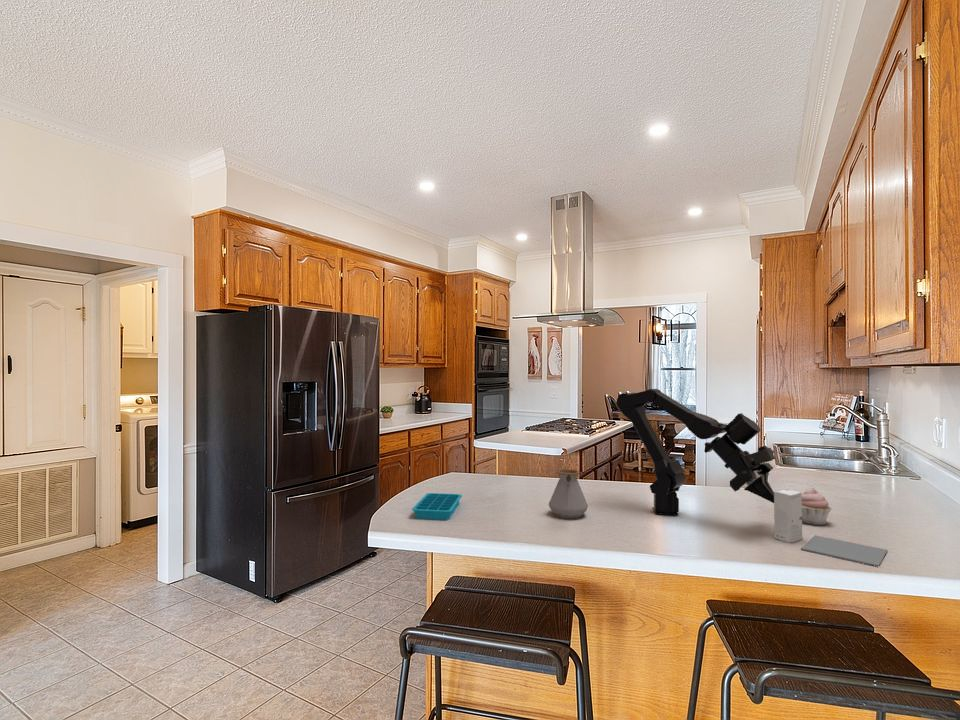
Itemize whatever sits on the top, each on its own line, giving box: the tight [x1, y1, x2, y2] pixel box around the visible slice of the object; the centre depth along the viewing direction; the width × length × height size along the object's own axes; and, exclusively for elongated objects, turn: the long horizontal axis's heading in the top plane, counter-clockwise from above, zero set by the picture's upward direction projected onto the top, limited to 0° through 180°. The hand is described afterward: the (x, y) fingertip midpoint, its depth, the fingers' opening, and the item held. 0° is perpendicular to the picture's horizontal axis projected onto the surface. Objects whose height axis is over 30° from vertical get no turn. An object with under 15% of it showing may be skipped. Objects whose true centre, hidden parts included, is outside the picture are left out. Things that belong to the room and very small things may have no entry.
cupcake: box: [801, 487, 833, 526], centre depth 148 cm, size 9×9×10 cm
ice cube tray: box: [411, 492, 463, 521], centre depth 157 cm, size 12×20×3 cm, turn 173°
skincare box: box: [773, 489, 803, 544], centre depth 133 cm, size 6×4×12 cm
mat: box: [800, 534, 888, 567], centre depth 125 cm, size 15×14×1 cm
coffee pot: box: [548, 469, 589, 519], centre depth 149 cm, size 21×12×15 cm, turn 170°
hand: (776, 502), depth 135 cm, fingers closed
